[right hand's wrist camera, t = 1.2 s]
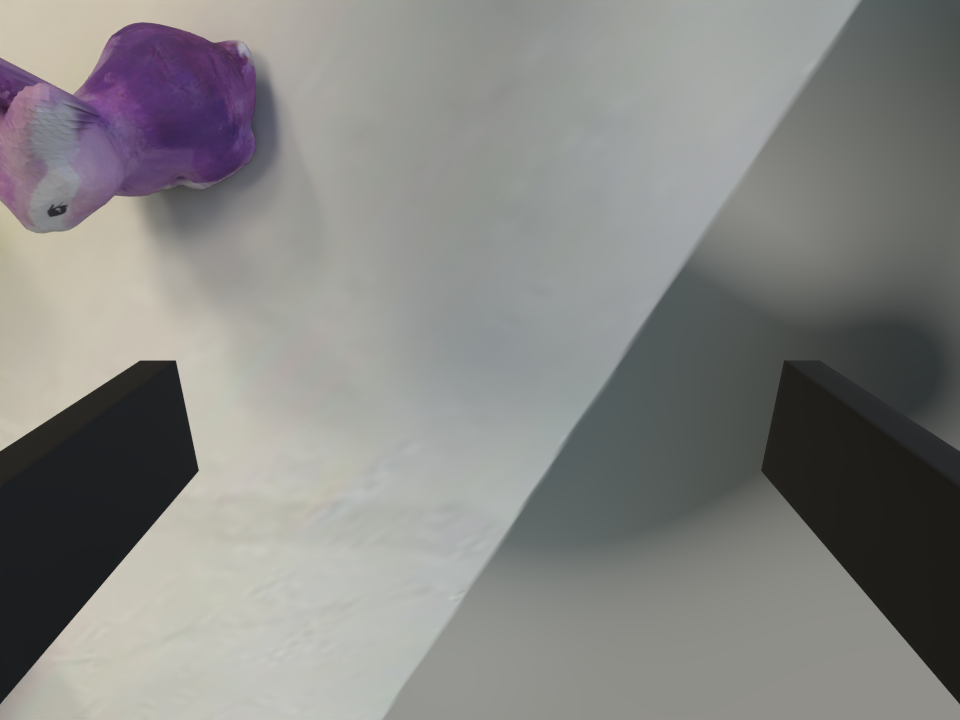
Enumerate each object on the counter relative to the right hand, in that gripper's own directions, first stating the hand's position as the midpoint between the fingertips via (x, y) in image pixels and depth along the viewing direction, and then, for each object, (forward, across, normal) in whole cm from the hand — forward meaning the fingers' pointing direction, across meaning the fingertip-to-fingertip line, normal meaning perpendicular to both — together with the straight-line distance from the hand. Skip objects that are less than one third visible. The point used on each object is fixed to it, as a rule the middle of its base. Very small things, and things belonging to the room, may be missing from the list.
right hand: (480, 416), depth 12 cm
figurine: (+26, -18, +6) cm, 32 cm away
